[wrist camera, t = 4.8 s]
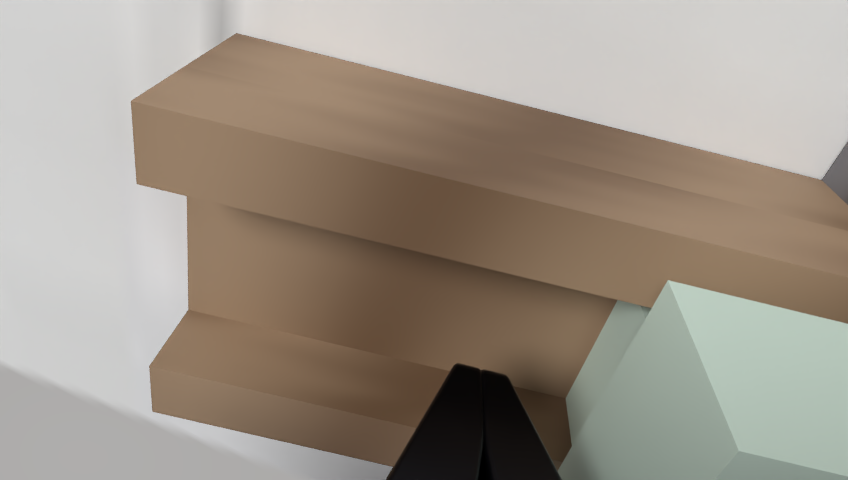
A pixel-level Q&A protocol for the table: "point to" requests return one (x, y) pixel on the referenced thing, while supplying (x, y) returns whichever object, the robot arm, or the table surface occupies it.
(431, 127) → the beam
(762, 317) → the block
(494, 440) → the robot arm
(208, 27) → the table surface
